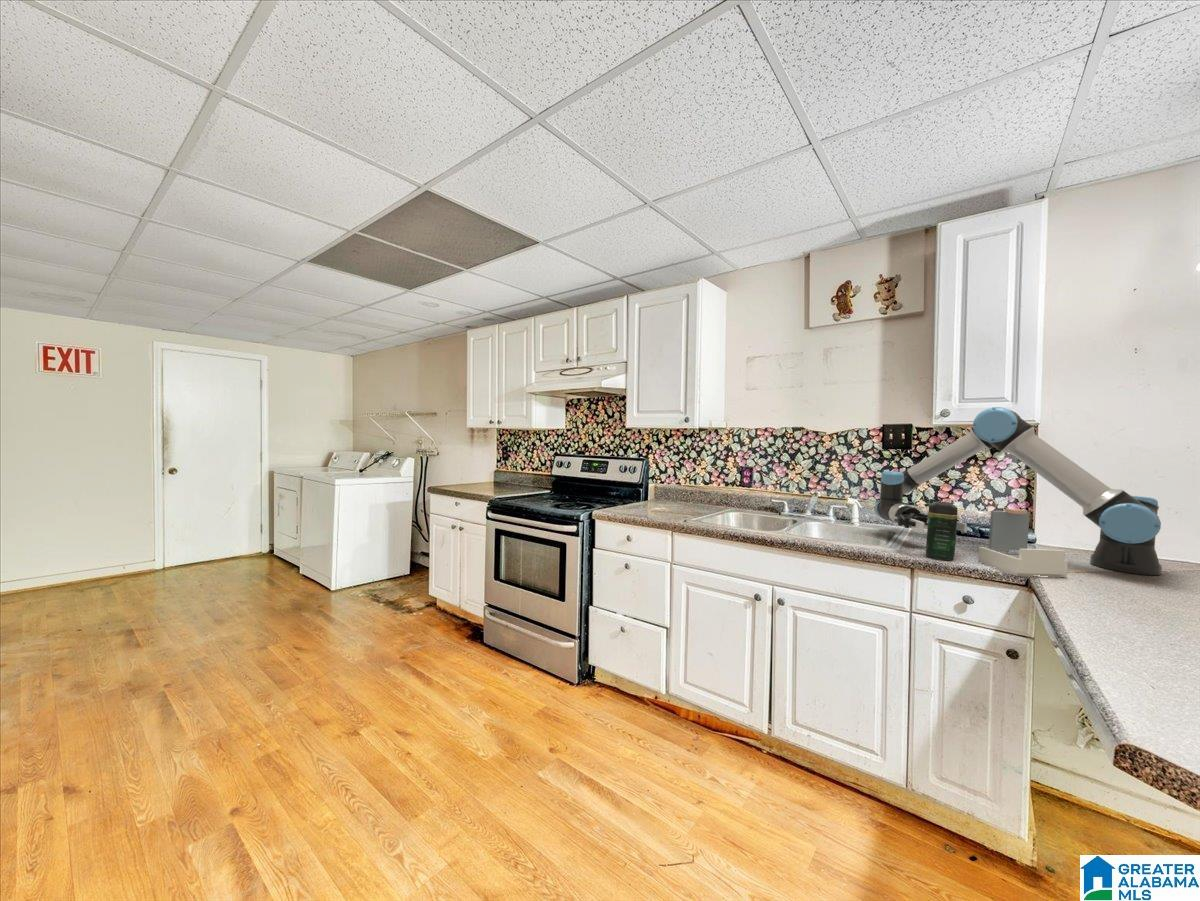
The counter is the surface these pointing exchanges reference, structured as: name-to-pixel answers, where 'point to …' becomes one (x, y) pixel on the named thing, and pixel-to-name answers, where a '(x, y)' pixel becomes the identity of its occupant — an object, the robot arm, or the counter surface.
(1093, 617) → the counter surface
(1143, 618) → the counter surface
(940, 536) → the coffee jar
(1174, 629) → the counter surface
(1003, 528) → the pusher
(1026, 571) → the tray
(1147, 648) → the counter surface
